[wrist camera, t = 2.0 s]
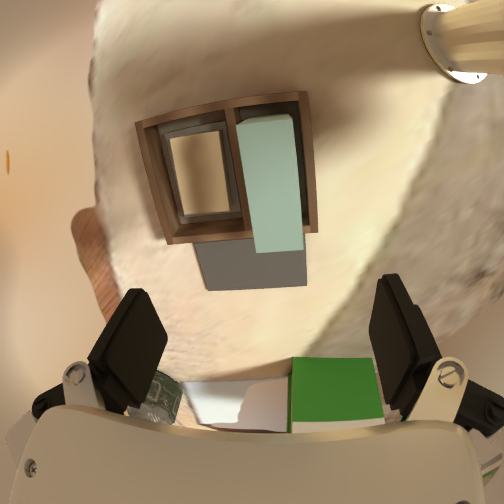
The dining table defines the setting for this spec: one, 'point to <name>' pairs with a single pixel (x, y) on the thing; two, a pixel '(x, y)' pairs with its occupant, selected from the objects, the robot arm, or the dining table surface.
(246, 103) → the rack
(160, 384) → the canister
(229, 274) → the mat
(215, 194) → the offcut upper
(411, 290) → the dining table surface
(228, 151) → the offcut lower
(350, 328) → the dining table surface
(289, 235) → the pale green square slab
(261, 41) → the dining table surface
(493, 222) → the dining table surface
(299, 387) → the hardback book
